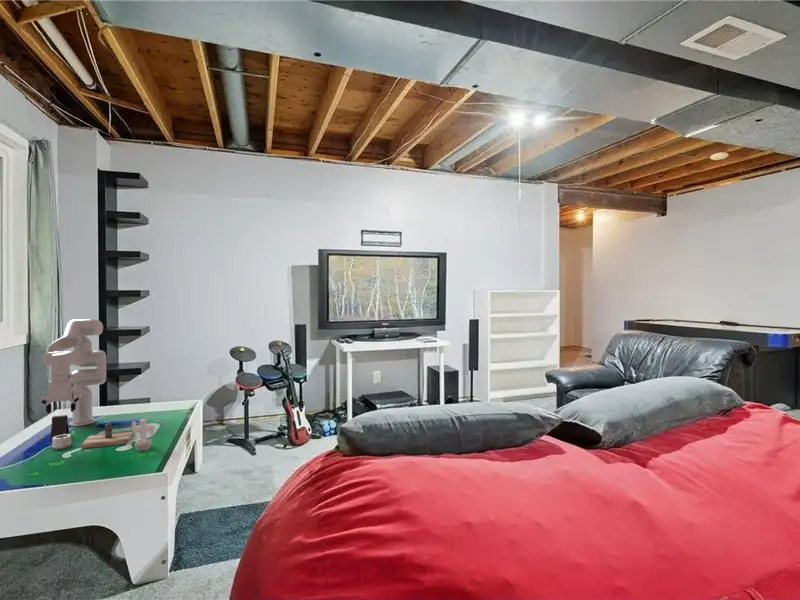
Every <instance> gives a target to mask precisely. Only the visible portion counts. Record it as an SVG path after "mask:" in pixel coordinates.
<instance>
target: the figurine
mask: <svg viewBox="0 0 800 600" xmlns="http://www.w3.org/2000/svg"><path fill="white" fill-rule="evenodd" d="M147 423H148V420H147V418H141V419H139V424H140V425H139V426H137V422H136V421H132V422H131V428H132V429H131V431H133V433H134V434H137V433H140V439H139V440H135V442H134V447H135V449H136V451H137V452H143V451H142V450H145V451H149V450H150V447H151V445H152V442H153V438H147V432H150V436H151V437H154V436H155V426H154V425H153V424H148V425H147Z"/></svg>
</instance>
